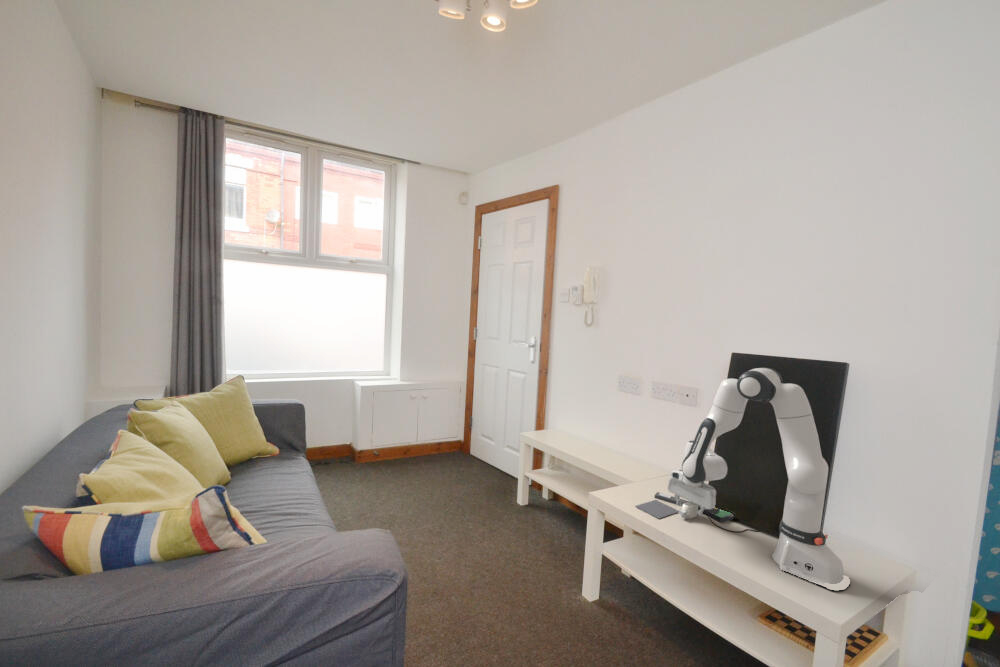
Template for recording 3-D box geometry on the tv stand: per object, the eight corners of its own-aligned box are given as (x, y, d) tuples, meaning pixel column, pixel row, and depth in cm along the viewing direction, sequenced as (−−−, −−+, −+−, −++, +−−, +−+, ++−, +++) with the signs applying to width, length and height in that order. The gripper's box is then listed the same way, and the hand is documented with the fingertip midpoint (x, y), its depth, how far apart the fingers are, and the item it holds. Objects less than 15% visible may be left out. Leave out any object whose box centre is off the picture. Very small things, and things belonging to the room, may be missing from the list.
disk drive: (689, 509, 201) (720, 524, 188) (690, 502, 201) (721, 517, 188) (704, 504, 206) (735, 519, 193) (704, 498, 206) (736, 512, 193)
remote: (691, 505, 204) (691, 501, 203) (689, 509, 200) (689, 504, 200) (656, 495, 212) (657, 491, 212) (654, 498, 208) (654, 494, 208)
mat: (679, 512, 195) (679, 511, 195) (658, 519, 187) (658, 518, 187) (655, 500, 205) (655, 499, 205) (635, 506, 197) (635, 505, 197)
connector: (698, 515, 194) (700, 504, 193) (684, 520, 188) (685, 509, 187) (691, 511, 196) (692, 500, 196) (676, 517, 190) (677, 505, 190)
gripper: (720, 486, 185) (716, 519, 186) (676, 468, 201) (672, 498, 202) (712, 489, 181) (708, 523, 182) (667, 470, 198) (663, 501, 199)
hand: (688, 510), depth 192 cm, fingers open, 8 cm apart
